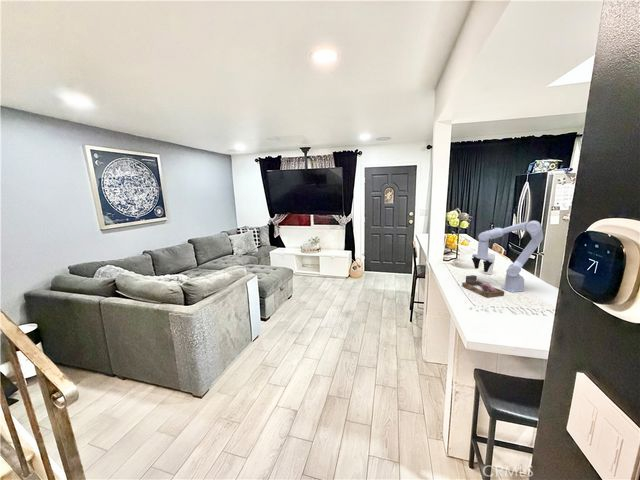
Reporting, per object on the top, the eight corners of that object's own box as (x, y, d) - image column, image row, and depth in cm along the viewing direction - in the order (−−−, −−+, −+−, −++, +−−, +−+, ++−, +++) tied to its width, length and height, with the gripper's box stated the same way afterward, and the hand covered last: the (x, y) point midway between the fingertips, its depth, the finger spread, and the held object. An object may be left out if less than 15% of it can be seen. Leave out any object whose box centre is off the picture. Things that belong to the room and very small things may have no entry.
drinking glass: (491, 272, 194) (493, 253, 191) (494, 275, 187) (496, 255, 185) (481, 272, 196) (483, 253, 193) (483, 274, 190) (485, 255, 187)
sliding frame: (461, 285, 168) (462, 276, 167) (477, 284, 170) (477, 274, 169) (486, 297, 149) (487, 286, 148) (503, 295, 151) (505, 284, 150)
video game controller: (480, 292, 161) (477, 283, 159) (486, 288, 161) (483, 279, 160) (494, 298, 151) (490, 289, 150) (500, 294, 152) (496, 285, 150)
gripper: (469, 248, 174) (467, 267, 176) (486, 253, 160) (484, 273, 162) (478, 247, 175) (476, 266, 178) (496, 252, 161) (494, 272, 164)
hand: (481, 270), depth 170 cm, fingers open, 7 cm apart
